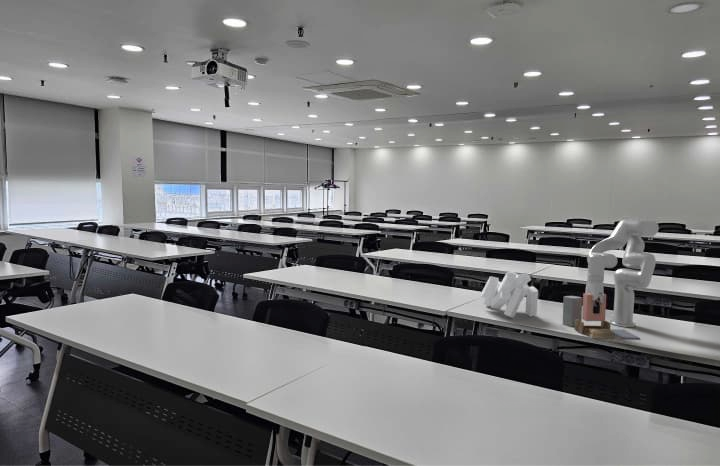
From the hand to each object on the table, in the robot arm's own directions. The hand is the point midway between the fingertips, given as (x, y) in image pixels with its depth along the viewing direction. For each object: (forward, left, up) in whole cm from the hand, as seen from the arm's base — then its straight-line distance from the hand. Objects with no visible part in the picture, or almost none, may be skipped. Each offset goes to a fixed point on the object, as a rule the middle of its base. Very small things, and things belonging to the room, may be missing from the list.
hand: (593, 311), depth 235 cm
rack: (0, -1, -11) cm, 11 cm away
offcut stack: (+8, -1, -11) cm, 14 cm away
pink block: (0, 0, -4) cm, 4 cm away
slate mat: (+4, +13, -11) cm, 18 cm away
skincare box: (-14, -5, -11) cm, 18 cm away
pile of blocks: (-36, -33, -11) cm, 50 cm away
